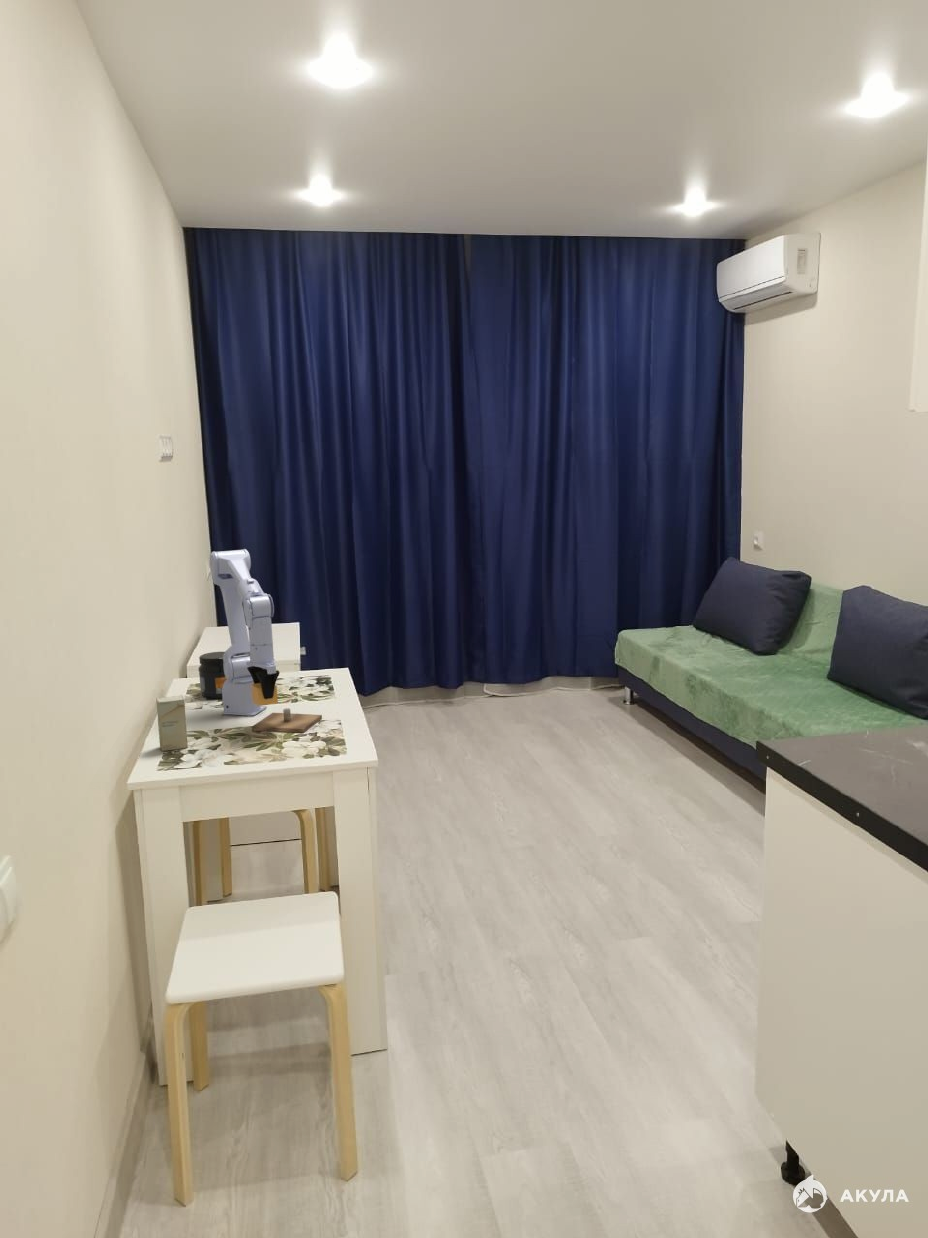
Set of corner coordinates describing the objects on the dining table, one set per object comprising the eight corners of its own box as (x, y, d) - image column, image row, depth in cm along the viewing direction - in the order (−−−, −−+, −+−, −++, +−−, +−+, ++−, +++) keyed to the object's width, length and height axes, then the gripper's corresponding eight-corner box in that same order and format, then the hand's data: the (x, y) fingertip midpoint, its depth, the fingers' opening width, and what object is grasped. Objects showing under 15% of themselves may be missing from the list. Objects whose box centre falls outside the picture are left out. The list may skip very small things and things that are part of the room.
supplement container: (243, 695, 259) (240, 655, 257) (207, 702, 253) (204, 661, 251) (230, 688, 268) (227, 649, 266) (195, 694, 262) (192, 654, 260)
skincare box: (161, 752, 213) (156, 702, 210) (159, 746, 217) (155, 698, 214) (189, 747, 215) (184, 699, 213) (186, 742, 219) (182, 694, 217)
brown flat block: (252, 730, 227) (251, 715, 226) (273, 716, 239) (271, 701, 238) (303, 732, 224) (302, 717, 223) (322, 718, 235) (321, 704, 235)
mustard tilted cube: (258, 706, 224) (257, 688, 223) (252, 701, 228) (251, 684, 227) (277, 702, 226) (276, 685, 225) (271, 698, 230) (270, 681, 230)
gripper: (236, 640, 228) (240, 691, 231) (254, 650, 216) (258, 705, 219) (263, 636, 232) (267, 687, 234) (282, 646, 220) (286, 700, 222)
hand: (264, 695), depth 227 cm, fingers closed on mustard tilted cube, 5 cm apart
